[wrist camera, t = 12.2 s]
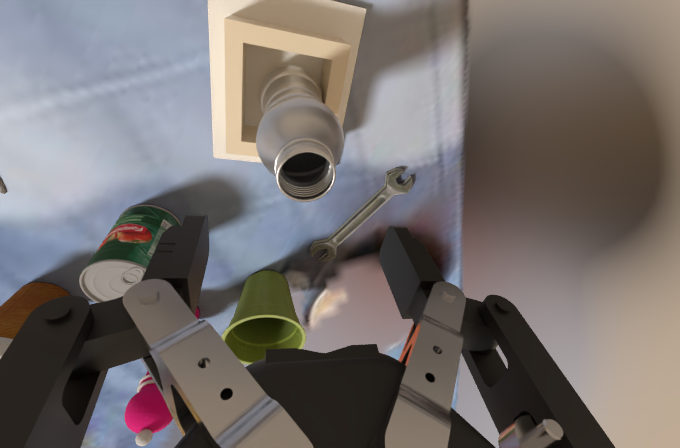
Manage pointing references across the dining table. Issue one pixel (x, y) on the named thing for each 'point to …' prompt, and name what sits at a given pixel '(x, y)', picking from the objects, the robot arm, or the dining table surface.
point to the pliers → (2, 187)
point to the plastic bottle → (298, 134)
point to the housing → (275, 60)
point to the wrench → (362, 214)
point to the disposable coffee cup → (24, 308)
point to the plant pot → (264, 319)
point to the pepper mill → (148, 409)
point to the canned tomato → (125, 252)
